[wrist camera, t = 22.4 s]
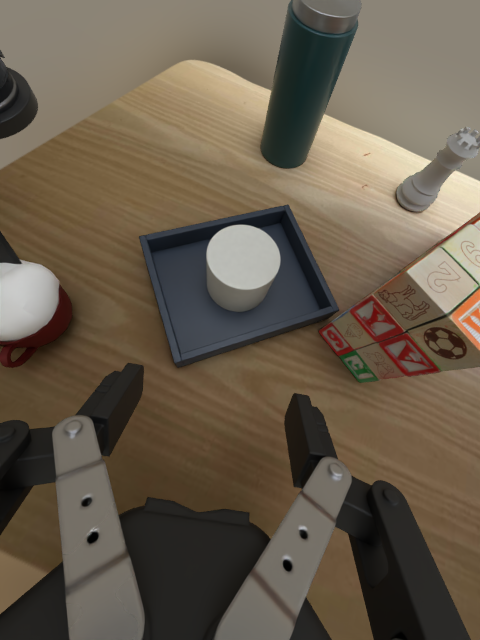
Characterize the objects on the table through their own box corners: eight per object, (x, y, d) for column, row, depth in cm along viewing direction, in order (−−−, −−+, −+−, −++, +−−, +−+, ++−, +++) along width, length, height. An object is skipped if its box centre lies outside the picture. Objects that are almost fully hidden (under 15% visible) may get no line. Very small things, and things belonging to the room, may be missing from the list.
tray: (177, 367, 23) (174, 363, 20) (144, 251, 26) (138, 236, 24) (327, 318, 26) (339, 309, 24) (282, 220, 29) (288, 204, 27)
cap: (217, 319, 24) (220, 298, 19) (199, 264, 26) (196, 232, 21) (276, 302, 25) (292, 278, 21) (255, 251, 27) (265, 217, 22)
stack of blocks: (445, 236, 31) (586, 134, 20) (485, 275, 30) (660, 192, 18) (316, 331, 25) (407, 268, 14) (359, 385, 24) (499, 366, 12)
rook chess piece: (393, 181, 33) (447, 115, 26) (426, 189, 33) (489, 125, 26) (394, 209, 32) (452, 147, 24) (429, 217, 32) (497, 158, 24)
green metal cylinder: (270, 172, 31) (311, 20, 19) (253, 136, 33) (280, -25, 21) (314, 164, 32) (378, 17, 20) (295, 130, 34) (344, -26, 22)
